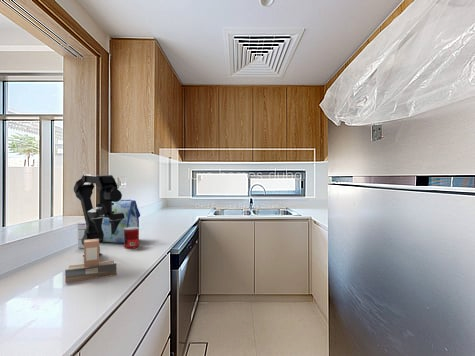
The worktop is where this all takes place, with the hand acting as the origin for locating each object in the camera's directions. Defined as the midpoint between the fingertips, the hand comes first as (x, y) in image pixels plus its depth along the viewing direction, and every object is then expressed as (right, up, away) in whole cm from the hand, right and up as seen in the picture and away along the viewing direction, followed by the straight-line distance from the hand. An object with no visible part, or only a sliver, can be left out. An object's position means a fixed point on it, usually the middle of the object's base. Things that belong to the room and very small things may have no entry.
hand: (105, 233), depth 140 cm
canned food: (+2, -13, +27) cm, 31 cm away
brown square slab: (+2, -13, -17) cm, 21 cm away
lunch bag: (-12, -13, +45) cm, 48 cm away
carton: (+2, -12, -18) cm, 21 cm away
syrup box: (-25, -13, +28) cm, 40 cm away
